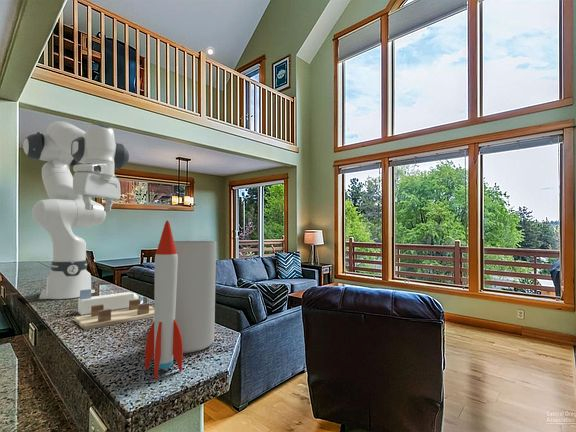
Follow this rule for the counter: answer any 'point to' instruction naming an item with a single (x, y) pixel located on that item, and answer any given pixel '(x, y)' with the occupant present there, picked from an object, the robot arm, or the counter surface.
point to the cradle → (115, 315)
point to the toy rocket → (164, 308)
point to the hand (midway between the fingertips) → (98, 210)
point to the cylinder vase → (195, 293)
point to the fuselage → (104, 301)
